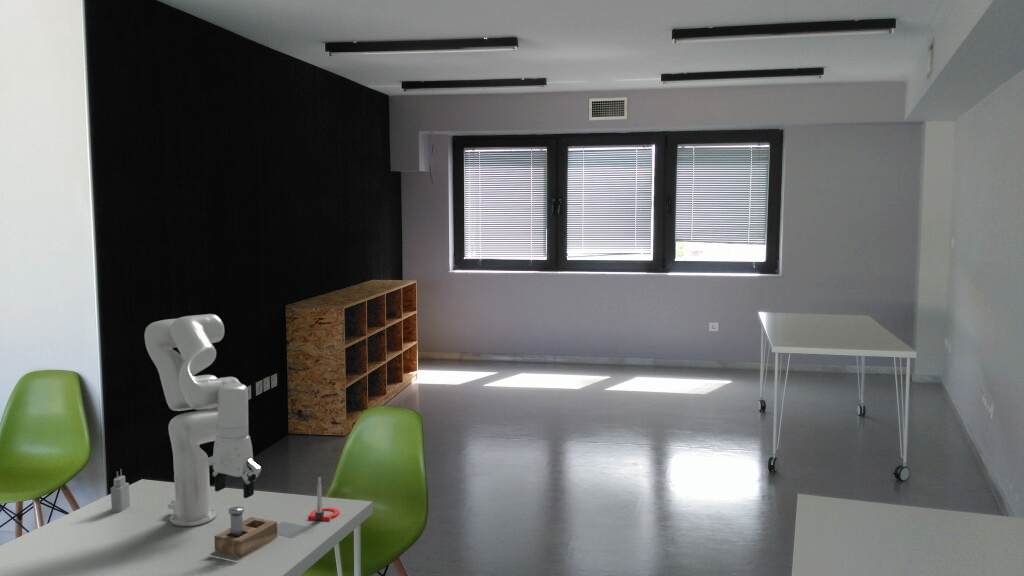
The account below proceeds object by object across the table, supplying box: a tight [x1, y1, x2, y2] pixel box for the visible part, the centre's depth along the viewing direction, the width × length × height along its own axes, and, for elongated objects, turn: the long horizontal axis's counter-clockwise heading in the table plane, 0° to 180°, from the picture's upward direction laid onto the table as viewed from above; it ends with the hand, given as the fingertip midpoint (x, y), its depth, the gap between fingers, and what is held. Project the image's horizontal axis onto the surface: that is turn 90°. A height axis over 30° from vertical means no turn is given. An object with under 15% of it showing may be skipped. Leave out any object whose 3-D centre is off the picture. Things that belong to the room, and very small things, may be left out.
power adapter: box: [110, 468, 131, 513], centre depth 236 cm, size 3×5×12 cm, turn 176°
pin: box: [228, 505, 245, 538], centre depth 208 cm, size 4×4×11 cm
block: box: [214, 516, 278, 558], centre depth 211 cm, size 9×14×4 cm, turn 157°
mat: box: [277, 521, 312, 539], centre depth 221 cm, size 10×8×1 cm
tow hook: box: [307, 477, 340, 522], centre depth 231 cm, size 8×13×9 cm
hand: (234, 493), depth 207 cm, fingers open, 9 cm apart
